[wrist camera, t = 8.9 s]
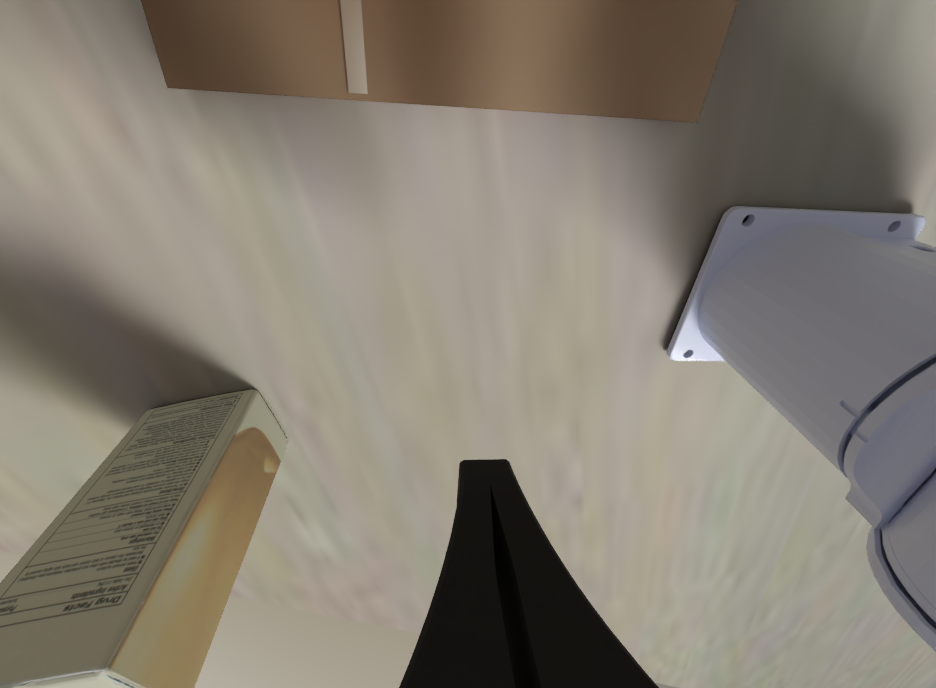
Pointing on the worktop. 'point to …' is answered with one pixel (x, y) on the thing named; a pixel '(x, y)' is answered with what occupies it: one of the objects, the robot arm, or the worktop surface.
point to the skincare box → (143, 552)
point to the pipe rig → (452, 52)
